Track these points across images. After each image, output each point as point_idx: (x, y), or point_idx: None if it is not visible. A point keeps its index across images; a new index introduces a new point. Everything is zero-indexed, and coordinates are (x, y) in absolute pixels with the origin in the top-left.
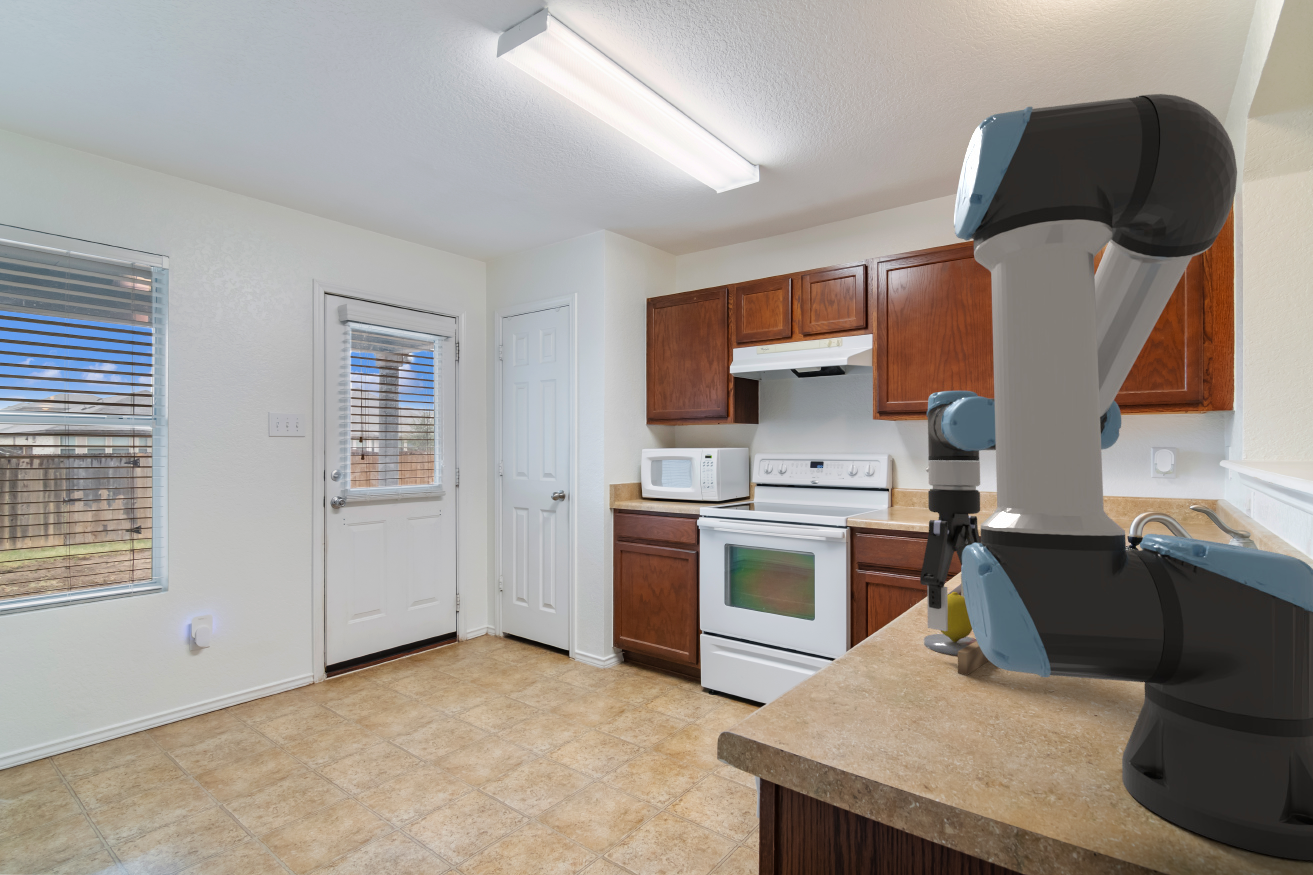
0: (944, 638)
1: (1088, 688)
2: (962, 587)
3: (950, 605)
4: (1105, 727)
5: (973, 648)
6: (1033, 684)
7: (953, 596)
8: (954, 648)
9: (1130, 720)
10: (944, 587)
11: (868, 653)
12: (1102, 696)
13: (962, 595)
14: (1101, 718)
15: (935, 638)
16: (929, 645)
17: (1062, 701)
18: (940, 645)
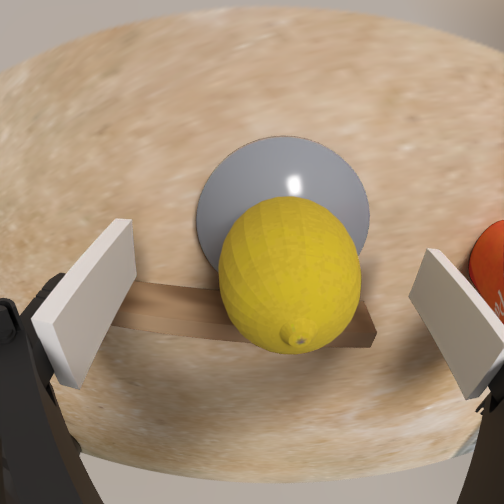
0: (306, 192)
1: (189, 411)
2: (471, 309)
3: (226, 304)
4: (79, 408)
5: (115, 324)
6: (141, 369)
7: (267, 330)
8: (214, 242)
9: (118, 424)
10: (60, 381)
11: (60, 69)
12: (170, 418)
13: (456, 288)
14: (97, 409)
15: (288, 169)
16: (214, 170)
17: (109, 390)
18: (216, 204)
